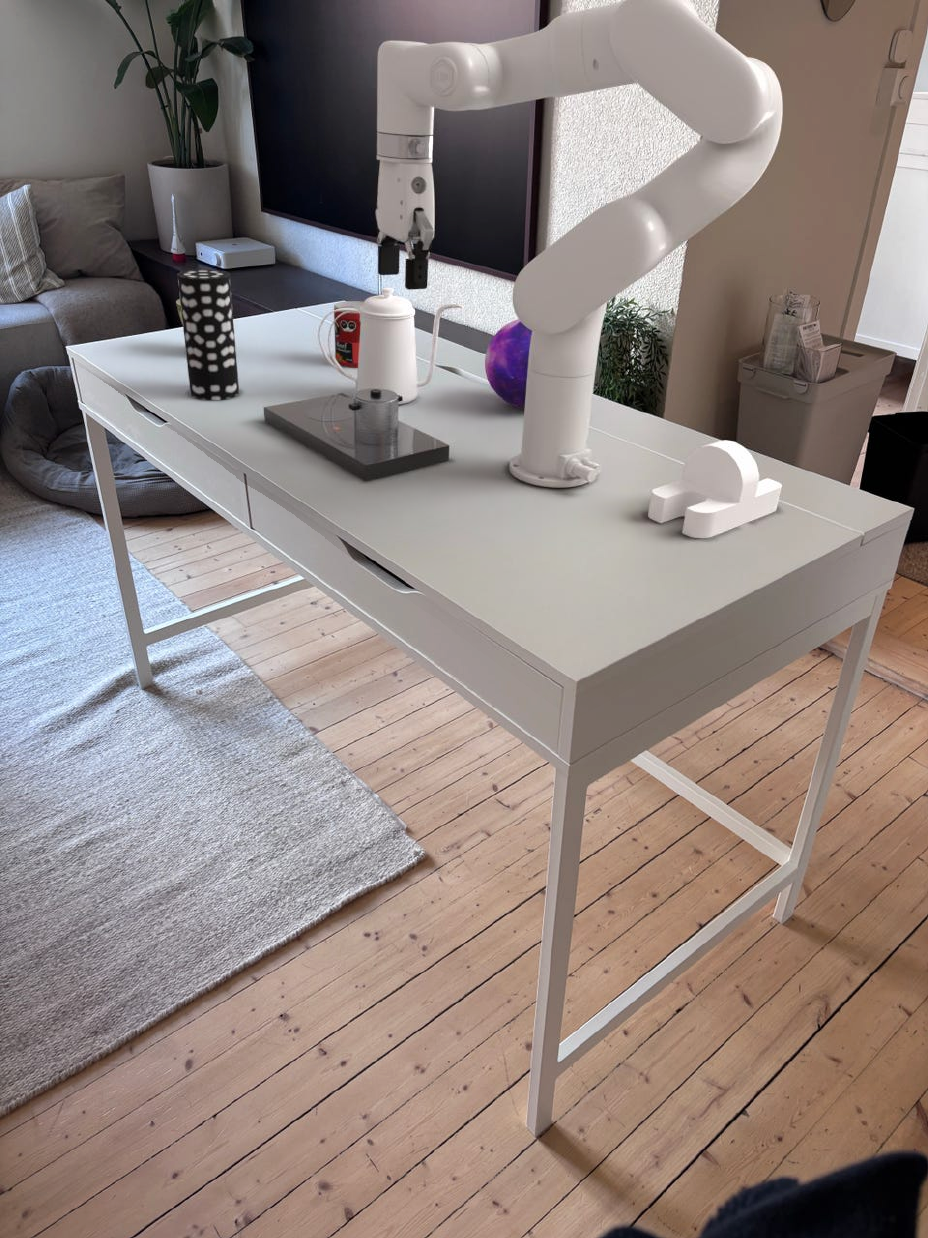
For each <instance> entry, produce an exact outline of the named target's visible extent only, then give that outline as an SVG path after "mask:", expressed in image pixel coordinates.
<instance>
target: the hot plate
mask: <svg viewBox="0 0 928 1238" xmlns="http://www.w3.org/2000/svg"><path fill="white" fill-rule="evenodd" d="M352 403H354V397H352V396H349V395H347V394H345V393H343V392H339V393H334V394H328V395H322V396H317V397H311V398H306V399H301V400H296V401H290V402H285V403H279V404H273V405H268V406H263V420H264V423H266V424H267V425H269V426H271V427H272V428H274V429H276V430H278V431H279V432H280V433H283V434H285V435H286V436H288V437H289V438H291V439H293V440H294V441H296V442H297V443H300V444H302V445H303V446H305V447H306V448H308V449H309V450H312V451H314V452H315V453H317V454H319V455H321V456H322V457H324V458H326V459H327V460H329V461H330V462H332V463H334V464H336V465H337V466H339V467H341V468H342V469H344V470H346V471H348V472H349V473H351V474H353V475H354V476H356V477H357V478H359V479H361V480H362V481H364V482H369V481H373V480H376V479H381V478H385V477H389V476H393V475H397V474H401V473H406V472H409V471H413V470H418V469H421V468H425V467H428V466H433V465H436V464H441V463H445V462H449V461H450V444H447V443H445V442H444V441H442V440H440V439H438V438H436V437H433V436H431V435H430V434H427V433H426V432H423V431H421V430H420V429H417V428H415V427H413V426H411V425H410V424H407V423H405V422H403V421H400V420H399V419H398V439H397V440H396V441H395V442H393V443H389V444H384V445H370V444H364V443H361V442H359V441H357V440H356V439H355V438H354V411H352V410H351V409H349V404H352Z"/></svg>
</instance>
